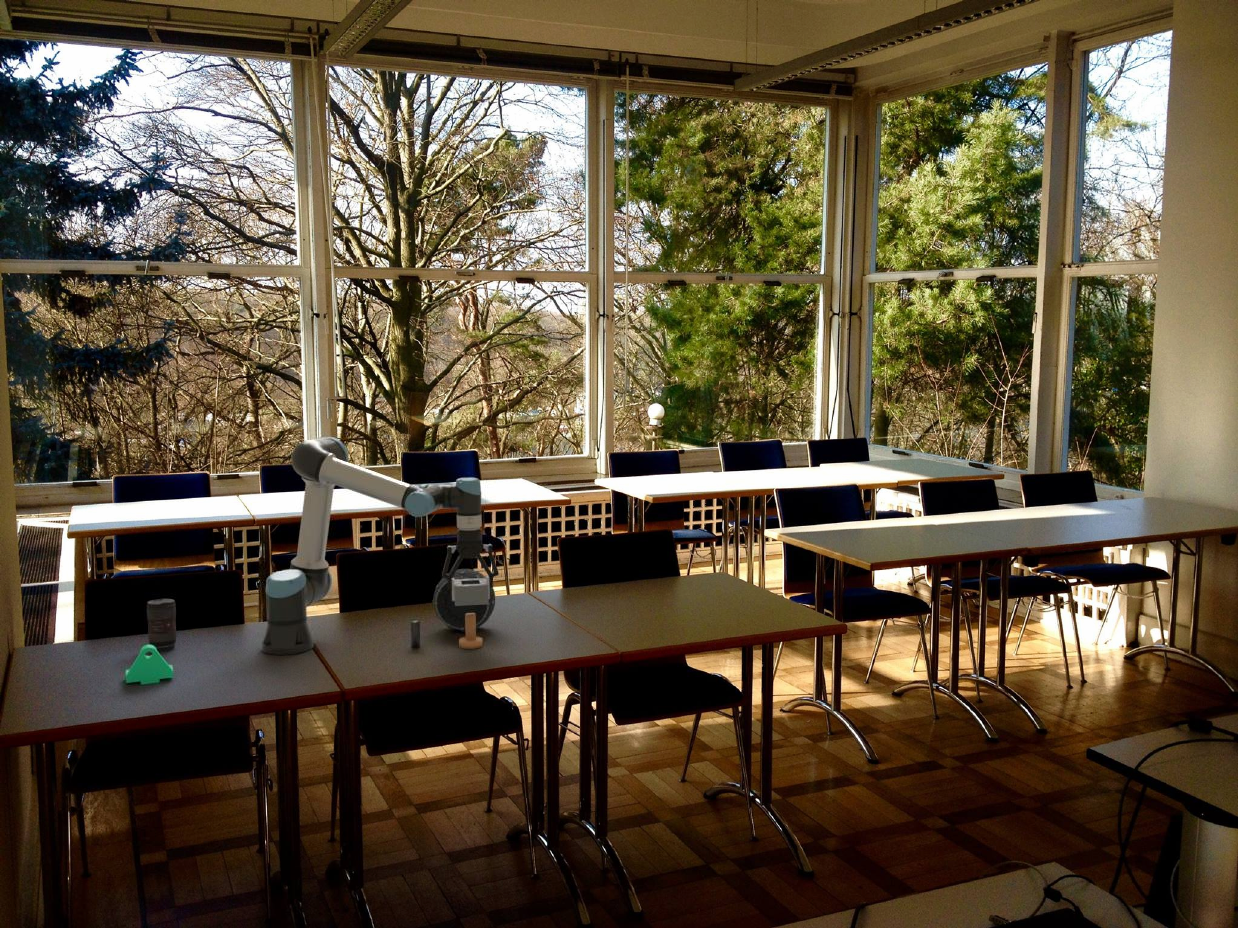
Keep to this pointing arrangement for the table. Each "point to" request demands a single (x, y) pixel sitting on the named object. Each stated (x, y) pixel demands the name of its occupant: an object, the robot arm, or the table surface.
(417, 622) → the stand rod
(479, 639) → the hub
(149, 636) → the dark grey cylinder
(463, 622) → the dark grey round disc
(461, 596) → the open grey box
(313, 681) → the table surface
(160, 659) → the camera mount
